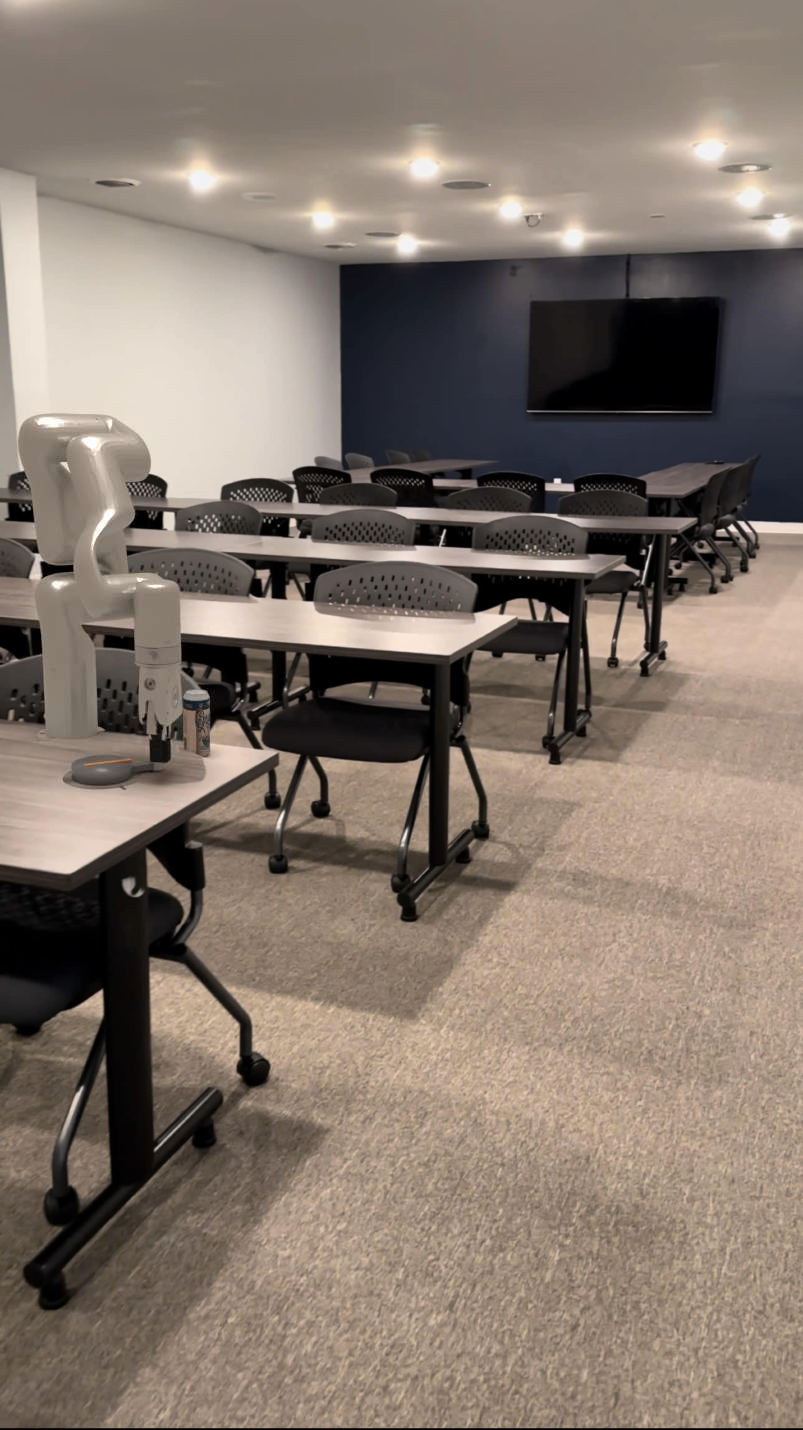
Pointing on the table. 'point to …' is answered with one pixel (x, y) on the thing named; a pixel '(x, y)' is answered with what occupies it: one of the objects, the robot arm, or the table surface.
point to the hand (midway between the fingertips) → (160, 761)
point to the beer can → (196, 721)
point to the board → (70, 781)
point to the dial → (109, 769)
